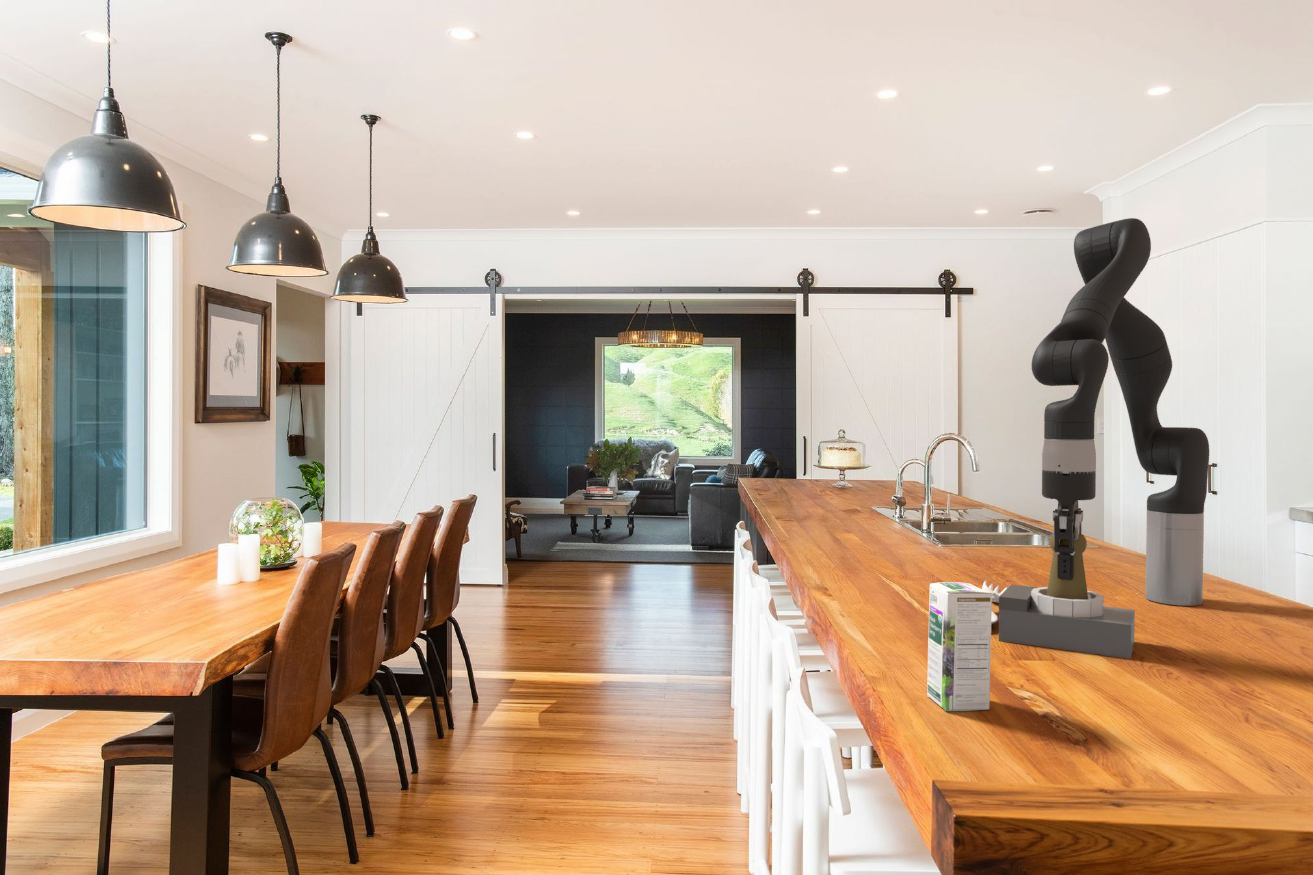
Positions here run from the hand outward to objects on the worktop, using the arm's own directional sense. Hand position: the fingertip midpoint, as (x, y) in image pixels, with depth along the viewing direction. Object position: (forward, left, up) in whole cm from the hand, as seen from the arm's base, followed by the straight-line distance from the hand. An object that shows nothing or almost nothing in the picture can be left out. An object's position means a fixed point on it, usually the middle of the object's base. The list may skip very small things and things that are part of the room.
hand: (1067, 575), depth 127 cm
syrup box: (+38, -8, -11) cm, 40 cm away
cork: (0, 0, -4) cm, 4 cm away
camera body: (0, 0, -10) cm, 10 cm away
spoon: (-13, -14, -11) cm, 22 cm away
